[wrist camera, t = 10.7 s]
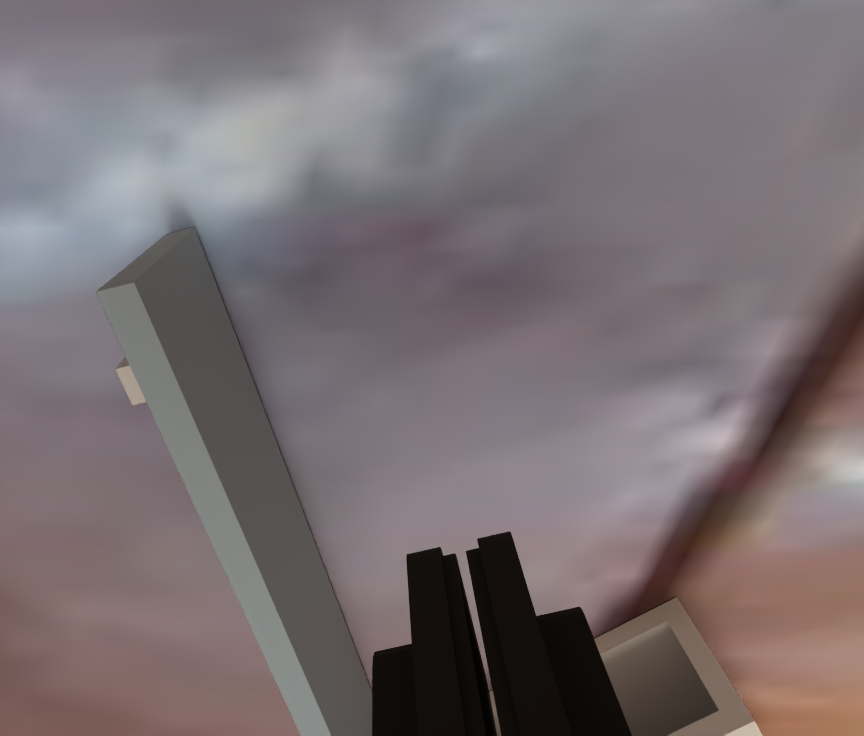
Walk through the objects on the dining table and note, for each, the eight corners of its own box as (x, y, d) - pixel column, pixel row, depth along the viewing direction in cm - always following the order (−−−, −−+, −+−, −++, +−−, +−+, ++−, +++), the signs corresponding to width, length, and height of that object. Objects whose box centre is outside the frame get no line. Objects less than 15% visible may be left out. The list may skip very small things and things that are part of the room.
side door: (138, 241, 23) (57, 302, 17) (197, 226, 23) (137, 280, 17) (354, 755, 34) (355, 908, 28) (394, 744, 34) (403, 895, 28)
